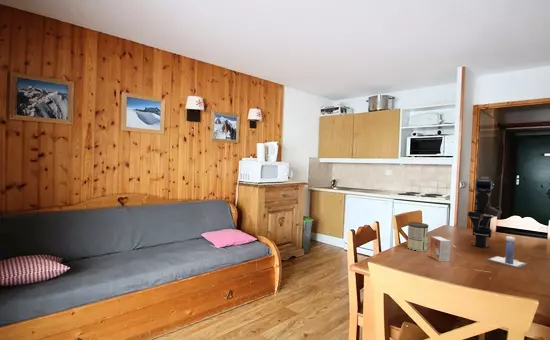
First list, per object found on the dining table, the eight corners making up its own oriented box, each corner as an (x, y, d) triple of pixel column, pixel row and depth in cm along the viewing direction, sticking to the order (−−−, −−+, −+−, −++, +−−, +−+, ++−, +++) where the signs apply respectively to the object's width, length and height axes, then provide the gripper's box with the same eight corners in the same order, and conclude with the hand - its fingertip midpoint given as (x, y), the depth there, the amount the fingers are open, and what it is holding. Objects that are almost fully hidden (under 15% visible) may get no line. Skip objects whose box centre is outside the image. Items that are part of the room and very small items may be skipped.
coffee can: (406, 245, 175) (407, 221, 175) (425, 247, 172) (427, 223, 171) (407, 250, 165) (409, 224, 165) (428, 252, 162) (430, 226, 162)
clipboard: (496, 256, 158) (496, 254, 158) (527, 264, 147) (527, 262, 147) (487, 260, 153) (487, 257, 153) (518, 268, 142) (518, 266, 142)
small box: (429, 256, 156) (430, 236, 155) (439, 256, 156) (440, 236, 156) (439, 261, 148) (440, 240, 147) (449, 261, 148) (450, 240, 148)
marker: (504, 261, 149) (506, 235, 149) (513, 263, 147) (515, 236, 147) (504, 263, 146) (506, 236, 146) (513, 264, 144) (515, 238, 144)
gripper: (491, 203, 153) (489, 234, 154) (507, 202, 163) (505, 230, 164) (468, 201, 163) (466, 229, 163) (484, 199, 173) (482, 226, 173)
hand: (480, 229), depth 165 cm, fingers open, 9 cm apart
